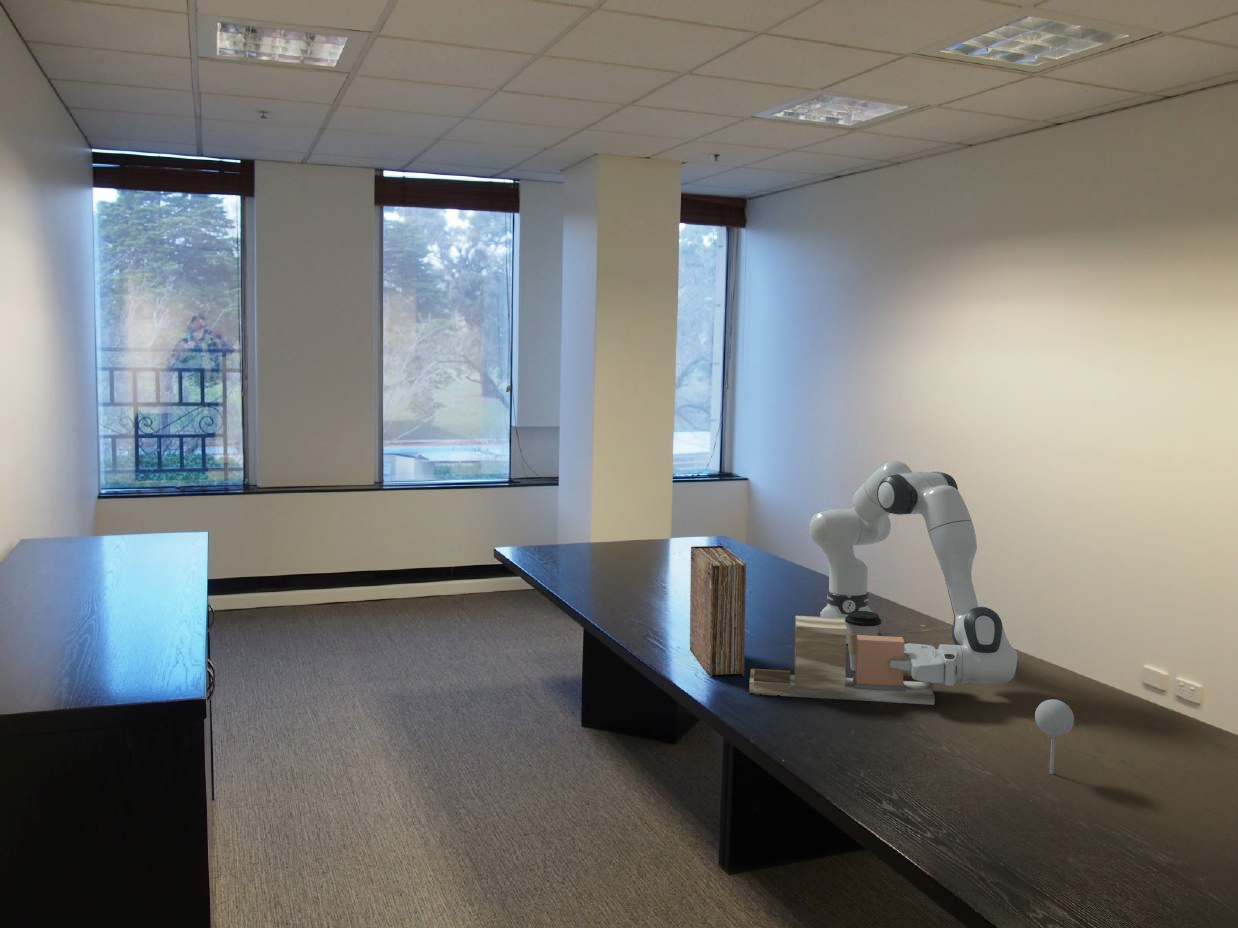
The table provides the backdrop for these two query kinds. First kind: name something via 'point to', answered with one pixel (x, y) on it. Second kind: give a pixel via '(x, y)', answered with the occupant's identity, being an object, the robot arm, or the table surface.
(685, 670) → the table surface
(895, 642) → the block
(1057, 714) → the lollipop
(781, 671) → the tunnel track
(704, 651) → the book
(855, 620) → the coffee cup
